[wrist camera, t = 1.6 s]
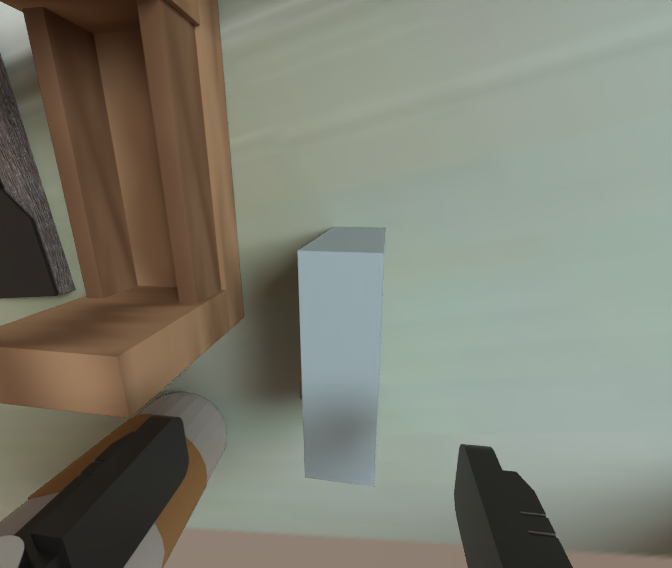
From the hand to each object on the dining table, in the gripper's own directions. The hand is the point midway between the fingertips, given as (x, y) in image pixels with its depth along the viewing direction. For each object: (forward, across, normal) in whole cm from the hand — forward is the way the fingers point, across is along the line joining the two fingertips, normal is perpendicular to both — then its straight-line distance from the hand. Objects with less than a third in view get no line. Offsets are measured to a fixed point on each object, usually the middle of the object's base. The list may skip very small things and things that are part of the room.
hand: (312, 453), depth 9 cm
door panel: (+12, 0, 0) cm, 12 cm away
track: (+12, +10, -8) cm, 18 cm away
